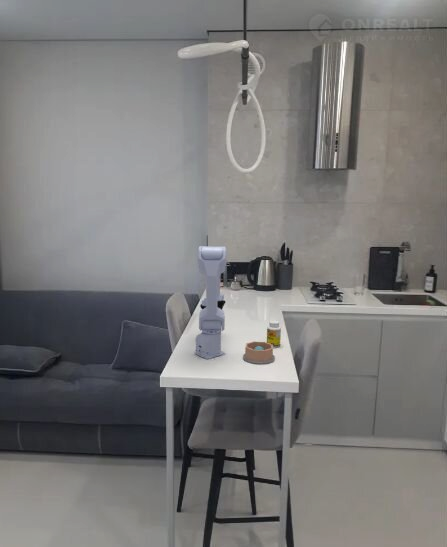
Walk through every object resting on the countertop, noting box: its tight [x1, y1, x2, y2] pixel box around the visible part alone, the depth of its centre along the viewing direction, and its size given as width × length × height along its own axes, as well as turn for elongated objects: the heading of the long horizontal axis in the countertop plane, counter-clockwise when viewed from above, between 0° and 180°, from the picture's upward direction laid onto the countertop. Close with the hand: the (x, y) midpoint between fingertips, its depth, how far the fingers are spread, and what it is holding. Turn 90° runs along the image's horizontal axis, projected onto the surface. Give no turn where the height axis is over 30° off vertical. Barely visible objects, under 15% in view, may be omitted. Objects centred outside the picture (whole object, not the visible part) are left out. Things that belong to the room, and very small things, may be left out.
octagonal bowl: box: [242, 340, 276, 365], centre depth 173 cm, size 12×12×5 cm
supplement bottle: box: [266, 320, 282, 349], centre depth 187 cm, size 6×6×10 cm
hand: (212, 319), depth 192 cm, fingers open, 7 cm apart
